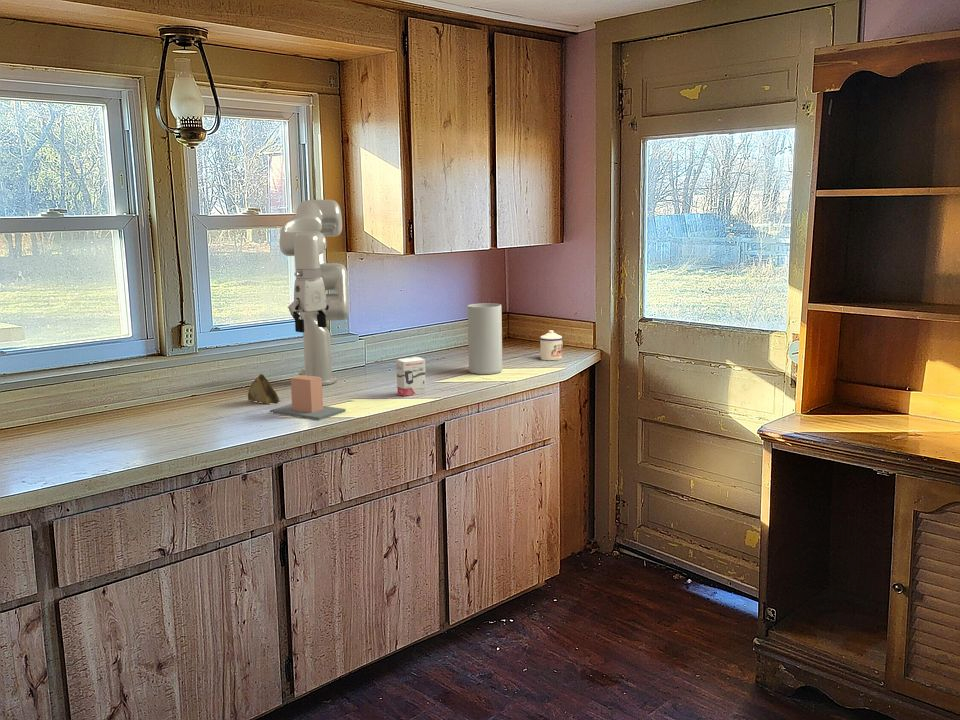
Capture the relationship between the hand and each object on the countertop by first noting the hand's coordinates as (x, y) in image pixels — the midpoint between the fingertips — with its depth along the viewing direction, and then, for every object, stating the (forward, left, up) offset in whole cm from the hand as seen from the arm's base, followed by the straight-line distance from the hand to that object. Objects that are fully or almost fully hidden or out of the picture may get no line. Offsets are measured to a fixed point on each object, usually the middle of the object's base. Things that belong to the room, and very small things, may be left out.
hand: (311, 329), depth 268 cm
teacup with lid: (+28, +109, -25) cm, 116 cm away
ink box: (+16, +29, -25) cm, 42 cm away
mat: (+3, -7, -25) cm, 26 cm away
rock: (-20, -3, -25) cm, 32 cm away
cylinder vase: (+18, +73, -25) cm, 80 cm away
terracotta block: (+3, -7, -24) cm, 25 cm away
